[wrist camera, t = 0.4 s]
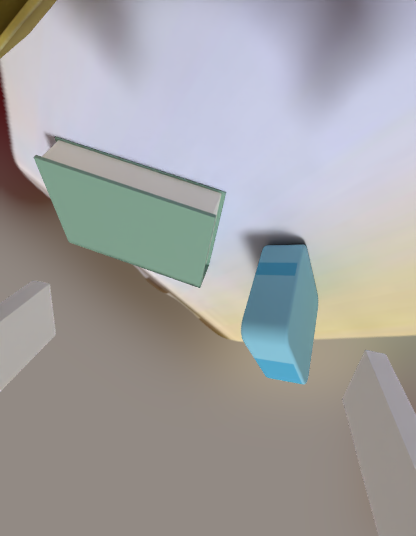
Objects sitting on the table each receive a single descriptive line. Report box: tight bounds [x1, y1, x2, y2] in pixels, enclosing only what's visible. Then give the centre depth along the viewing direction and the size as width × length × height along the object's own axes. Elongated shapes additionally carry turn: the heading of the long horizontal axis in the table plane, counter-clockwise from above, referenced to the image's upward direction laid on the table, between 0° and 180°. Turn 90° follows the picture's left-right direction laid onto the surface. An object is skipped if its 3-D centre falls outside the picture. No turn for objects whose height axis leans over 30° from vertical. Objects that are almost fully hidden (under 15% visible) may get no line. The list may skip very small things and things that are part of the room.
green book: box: [34, 136, 226, 288], centre depth 37 cm, size 14×19×4 cm
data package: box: [241, 245, 318, 384], centre depth 35 cm, size 12×4×12 cm, turn 23°
